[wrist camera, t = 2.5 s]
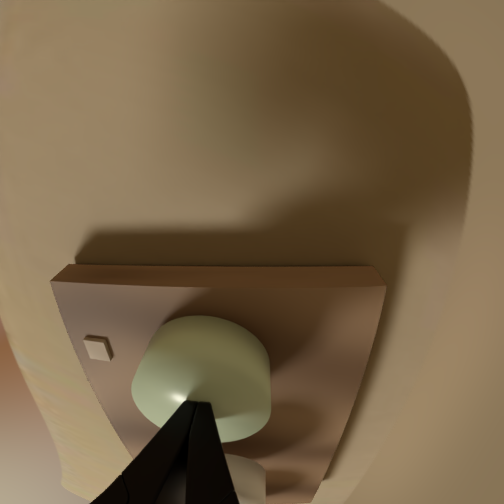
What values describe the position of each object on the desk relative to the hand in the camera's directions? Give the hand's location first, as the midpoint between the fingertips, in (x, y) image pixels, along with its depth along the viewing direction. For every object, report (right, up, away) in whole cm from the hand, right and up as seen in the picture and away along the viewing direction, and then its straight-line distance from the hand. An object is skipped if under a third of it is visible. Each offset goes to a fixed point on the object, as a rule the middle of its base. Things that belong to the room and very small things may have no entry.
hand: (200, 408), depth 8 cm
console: (0, -5, +6) cm, 8 cm away
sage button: (0, +1, +2) cm, 2 cm away
